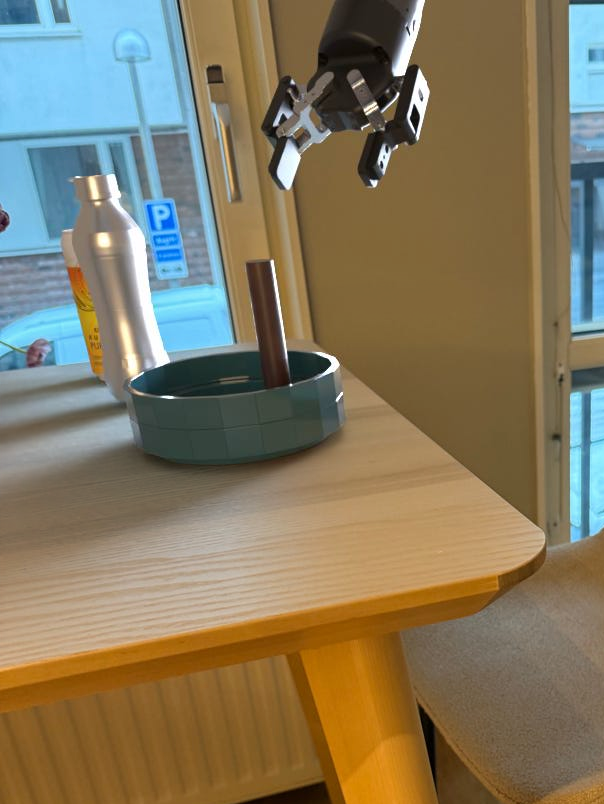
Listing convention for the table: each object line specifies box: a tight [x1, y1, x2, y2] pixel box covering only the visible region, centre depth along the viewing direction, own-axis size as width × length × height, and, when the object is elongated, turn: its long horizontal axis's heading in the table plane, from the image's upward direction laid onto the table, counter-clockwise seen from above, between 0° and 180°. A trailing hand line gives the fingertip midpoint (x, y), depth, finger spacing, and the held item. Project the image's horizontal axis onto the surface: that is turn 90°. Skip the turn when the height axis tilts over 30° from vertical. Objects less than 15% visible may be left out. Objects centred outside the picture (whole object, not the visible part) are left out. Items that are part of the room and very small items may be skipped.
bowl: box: [122, 349, 347, 466], centre depth 77 cm, size 17×17×6 cm
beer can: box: [60, 228, 105, 382], centre depth 99 cm, size 6×6×15 cm
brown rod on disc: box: [243, 258, 291, 390], centre depth 75 cm, size 6×6×13 cm
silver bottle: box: [72, 174, 171, 403], centre depth 87 cm, size 6×7×20 cm
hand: (321, 181), depth 78 cm, fingers open, 8 cm apart
